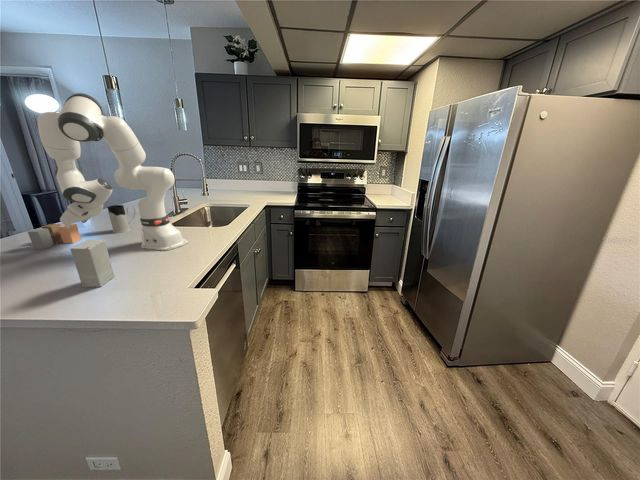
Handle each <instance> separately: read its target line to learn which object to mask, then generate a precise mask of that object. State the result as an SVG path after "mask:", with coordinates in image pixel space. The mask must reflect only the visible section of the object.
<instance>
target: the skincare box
mask: <svg viewBox="0 0 640 480" xmlns="http://www.w3.org/2000/svg"><path fill="white" fill-rule="evenodd" d="M69 250H70V253H71V255H72V259H73V261H74V265H75V267H76V271H77V273H78V278H79V280H80V284H81V287H82V288H99V287H98V286H101V287H103V286H104V285H105V284H107V283H108V282H109V281H111V279H113V278H114V277H115V274H114V273H115V272H114V270H113V267H112V262H111V260H110V259H111V258H110V255H109V251H108V247H107V244H106V240H105V239H86V240H84V241H82V242H81V243H79V244H77V245H75V246H72V247H70V249H69ZM103 284H104V285H103ZM102 285H103V286H102ZM95 286H96V287H95Z"/></svg>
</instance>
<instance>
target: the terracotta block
mask: <svg viewBox="0 0 640 480" xmlns="http://www.w3.org/2000/svg"><path fill="white" fill-rule="evenodd" d="M71 225H72V226H71V227H70V228H66V227H65V224H63V225H62V224H61V226H59V227H58V228H59V231H60V234H61V237H62V240H63V241H62V242H63V244H75V243H79V242H81V241H82V237H81V234H80V232H79V227H78V226H77V223H73V224H71Z"/></svg>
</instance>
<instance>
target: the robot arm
mask: <svg viewBox="0 0 640 480" xmlns="http://www.w3.org/2000/svg"><path fill="white" fill-rule="evenodd" d="M37 130H38V134H39V138H40V142H41V144H42V146H43V148H44V150H45V152H46V153H47V155H48V156H49V158H50V159H53V160H54V161H55V163H56V169H55V170H54V178H55V180H56V182H57V183H58V187H59V190H60V192H61V193H62V196H63V198H64V199H65V200H67V201H70V202H72V203H70V204H68V205H67V206H66V207H67V208H66V209H65V211H64V212H63V213H62V214H61V216H60V218H59V221H60V223H62V224H63V225H65V227H66V228H70V227H71V226H72V225H71V224H77V223H79V222H81V223H82V224H85V223H87V221H90V219H92V218H95V217H98V216H100V214H101V213H102V212H103V209H104V205H105V203H106V202H108V199H109V198H110V197H111V195H112V194H113V186H112V185H111V184H110V182H108V181H107V180H105V179H102V178H96V179H94V180H87V181H86V179H85V176H84V173H83V172H82V170H81V169H79V168H78V166H77V165H76V160H78V159H79V158H80V157H81V154H82V153H81V151H82V149H81V144H80V143H82V142H83V143H88V142H89V143H90V142H99V141H101V140H102V139H103V140H104V141H105V143H106V145H108V147H109V148H110V150H111V152H112V153H113V155H114V156H115V158H116V160H117V162H118V168H117V169H116V170H115V172H114V177H113V178H114V181H115V182H116V184H117V185H118V186H119V188H122V189H125V190H133V191H134V190H138V191H139V190H140V191H141V190H146V195H145V196H143V198H141V199H140V200H139V201H138V202H137V205H138V206H137V207H138V211H139V215H140V223H141V226H142V228H141V229H140V230H141V231H140V235H141V241H142V242H141V243H142V244H141V245H140V248H141V249H149V250H156V251H157V250H158V251H169V250H173V249H177V248H180V247H182V246H185V245H186V244H188V243H189V240H188V239H186V238H183V236H182V232H181V230H180V229H177V228H176V227H175V226H174V225H173V224H172V223H171V218H170V217H169V216H168V215H167V213H166V209H165V197H166V194H167V192H168V191H169V190H170V189H171V188H172V187H173V186H174V185H175V179H176V178H175V176H174V173H173V171H171V169H170V168H166V167H160V166H142V164H144V162H145V161H146V158H147V156H146V155H147V154H146V152H145V150H144V147H142V144H141V142H140V140H139V139H138V138H137V137H138V136H136V134H135V133H134V131H133V130H132V128H131V127H130V126H129V124H127V122H126V121H125V120H124V119H123V118H121V117H120V116H115V115H109V116H105V115H104V113H103V108H102V106H101V103H99V101H98V100H97V99H95V97H93V96H91V95H89V94H87V93H83V92H78V93H73V94H71V95H70V96H69V97H67V99H66V101H65V102H64V103H63V105H62V107H61V110H60V112H54V111H47V112H43V113H40V114H39V115H38V117H37Z"/></svg>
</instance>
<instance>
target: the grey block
mask: <svg viewBox="0 0 640 480" xmlns="http://www.w3.org/2000/svg"><path fill="white" fill-rule="evenodd" d="M27 235H28V237H29V239H30V241H31V244H32V247H33V249H34V250H45V249H48V248H51V247H54V246H55V243H53V240H52V238H51V235H50V232H49V230H48V229H43V228H42V227H40V228H39V227H38V228H34V229H31V230H29V231H27Z"/></svg>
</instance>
